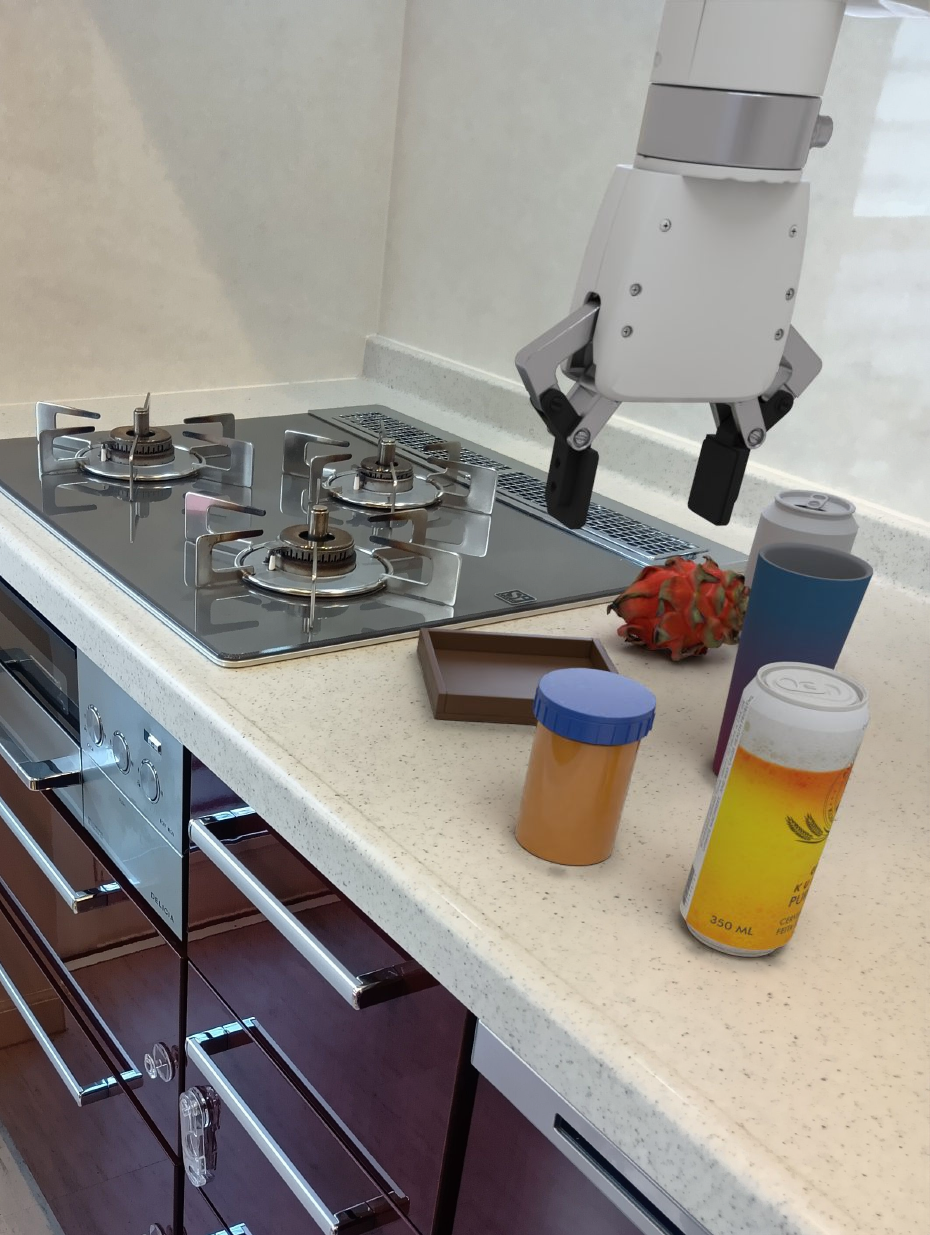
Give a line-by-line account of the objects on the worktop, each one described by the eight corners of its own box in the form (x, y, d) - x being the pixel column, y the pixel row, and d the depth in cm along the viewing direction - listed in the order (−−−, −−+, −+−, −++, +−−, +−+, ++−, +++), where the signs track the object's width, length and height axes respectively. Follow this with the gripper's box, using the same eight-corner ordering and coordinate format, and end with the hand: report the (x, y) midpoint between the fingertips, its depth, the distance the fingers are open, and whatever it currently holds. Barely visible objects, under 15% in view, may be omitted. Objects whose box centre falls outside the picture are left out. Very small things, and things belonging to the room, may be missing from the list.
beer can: (797, 970, 70) (890, 717, 62) (681, 953, 71) (758, 700, 62) (779, 908, 75) (863, 667, 67) (672, 893, 76) (741, 652, 67)
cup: (708, 741, 93) (767, 535, 84) (807, 766, 90) (878, 556, 82) (690, 780, 88) (751, 564, 79) (794, 808, 85) (869, 588, 77)
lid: (634, 697, 78) (641, 671, 77) (664, 749, 73) (671, 721, 72) (522, 690, 78) (528, 664, 77) (544, 742, 72) (549, 714, 72)
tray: (593, 661, 104) (598, 638, 103) (630, 730, 94) (637, 705, 92) (416, 651, 103) (419, 627, 102) (434, 719, 93) (438, 693, 92)
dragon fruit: (749, 678, 107) (601, 689, 107) (732, 589, 110) (588, 600, 110) (781, 622, 99) (621, 634, 100) (761, 528, 102) (606, 540, 102)
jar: (601, 817, 83) (634, 681, 77) (623, 868, 78) (660, 726, 72) (507, 812, 82) (534, 675, 77) (523, 863, 77) (553, 720, 72)
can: (715, 640, 109) (755, 497, 103) (743, 616, 114) (782, 478, 108) (805, 666, 106) (852, 520, 99) (829, 639, 111) (875, 499, 104)
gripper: (835, 141, 65) (739, 495, 74) (514, 121, 60) (457, 500, 70) (938, 156, 59) (819, 539, 68) (590, 135, 54) (516, 548, 64)
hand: (637, 518), depth 69 cm, fingers open, 7 cm apart
